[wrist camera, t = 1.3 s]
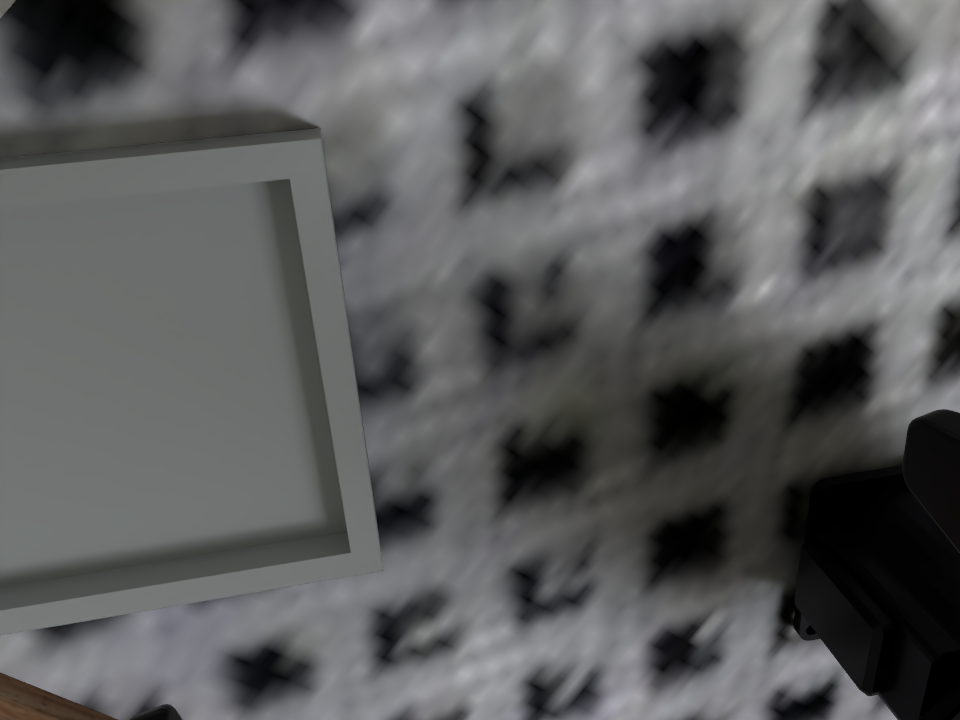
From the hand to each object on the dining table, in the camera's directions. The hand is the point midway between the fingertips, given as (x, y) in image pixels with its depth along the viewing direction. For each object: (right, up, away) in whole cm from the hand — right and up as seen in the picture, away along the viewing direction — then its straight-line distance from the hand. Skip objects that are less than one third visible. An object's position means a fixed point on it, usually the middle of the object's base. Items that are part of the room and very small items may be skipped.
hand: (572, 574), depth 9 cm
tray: (-10, +2, +12) cm, 16 cm away
